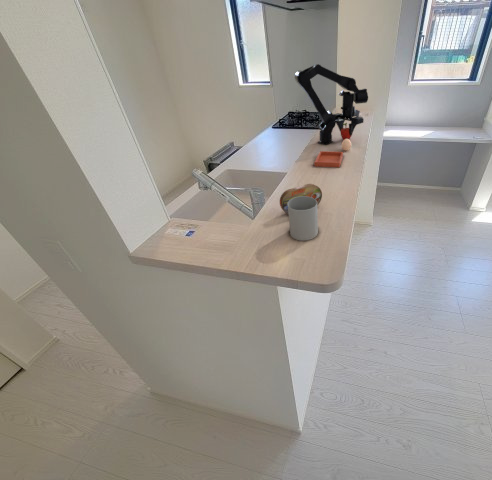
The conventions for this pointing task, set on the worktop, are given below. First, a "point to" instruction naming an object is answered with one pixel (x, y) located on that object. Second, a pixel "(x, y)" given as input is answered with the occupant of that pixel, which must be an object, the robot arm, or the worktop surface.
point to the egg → (346, 144)
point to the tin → (300, 194)
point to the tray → (328, 159)
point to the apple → (345, 133)
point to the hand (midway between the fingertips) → (346, 134)
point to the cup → (303, 217)
